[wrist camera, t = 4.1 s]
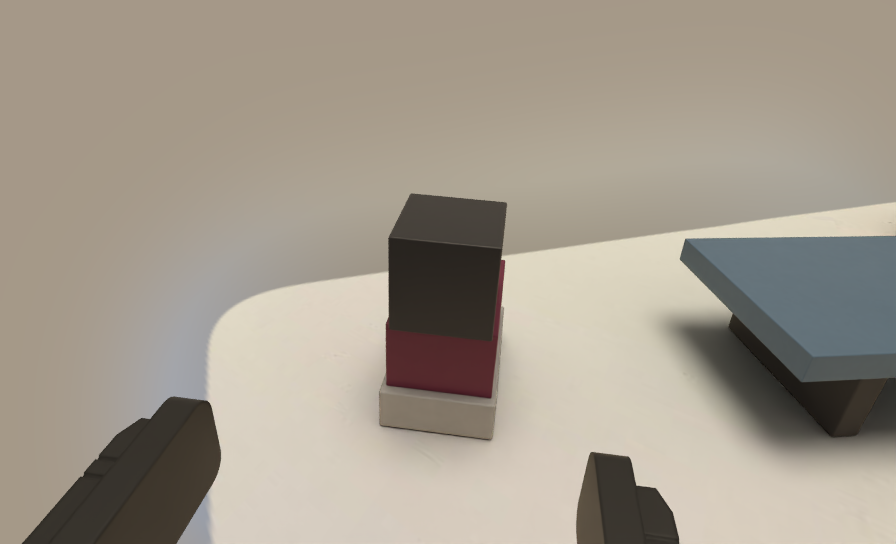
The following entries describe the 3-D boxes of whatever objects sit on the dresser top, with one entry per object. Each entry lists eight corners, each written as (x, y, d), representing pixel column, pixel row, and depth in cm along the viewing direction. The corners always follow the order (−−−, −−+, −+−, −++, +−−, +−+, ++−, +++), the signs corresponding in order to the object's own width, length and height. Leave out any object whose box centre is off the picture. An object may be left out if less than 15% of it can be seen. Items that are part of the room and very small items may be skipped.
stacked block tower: (492, 440, 23) (514, 249, 19) (379, 425, 23) (376, 235, 19) (502, 318, 30) (519, 163, 26) (417, 308, 31) (421, 154, 27)
